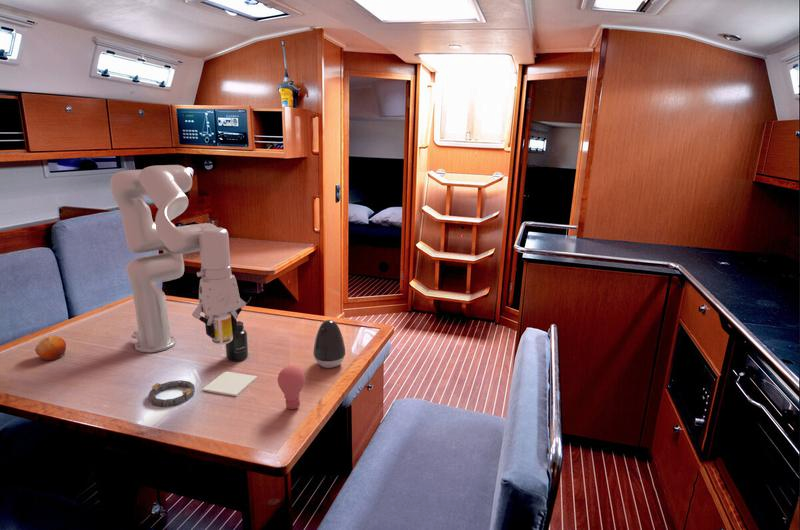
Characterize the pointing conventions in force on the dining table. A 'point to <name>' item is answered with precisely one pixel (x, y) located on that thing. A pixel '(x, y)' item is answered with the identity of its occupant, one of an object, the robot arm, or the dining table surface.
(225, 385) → the coaster
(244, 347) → the supplement bottle
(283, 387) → the light bulb
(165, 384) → the collar
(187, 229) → the robot arm
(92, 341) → the dining table surface
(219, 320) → the supplement bottle
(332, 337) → the pump dispenser
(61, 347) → the fruit
